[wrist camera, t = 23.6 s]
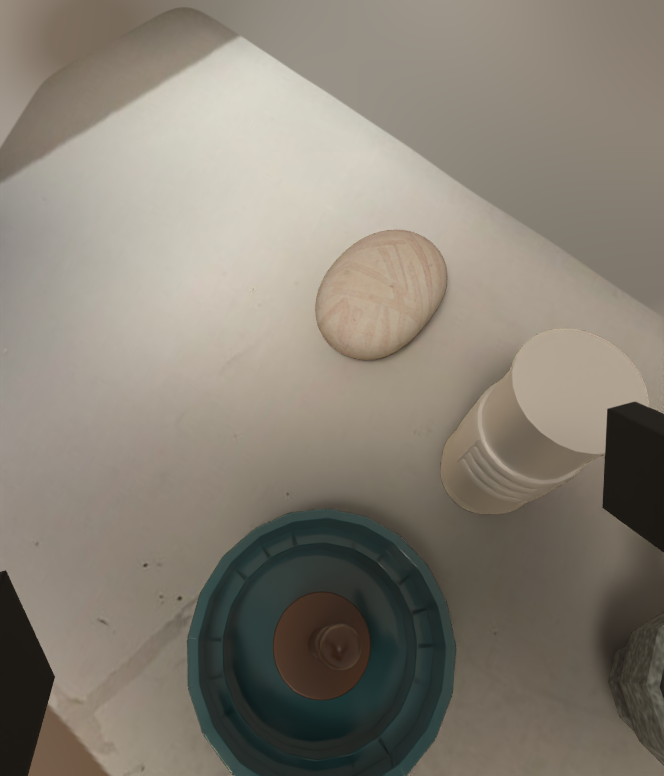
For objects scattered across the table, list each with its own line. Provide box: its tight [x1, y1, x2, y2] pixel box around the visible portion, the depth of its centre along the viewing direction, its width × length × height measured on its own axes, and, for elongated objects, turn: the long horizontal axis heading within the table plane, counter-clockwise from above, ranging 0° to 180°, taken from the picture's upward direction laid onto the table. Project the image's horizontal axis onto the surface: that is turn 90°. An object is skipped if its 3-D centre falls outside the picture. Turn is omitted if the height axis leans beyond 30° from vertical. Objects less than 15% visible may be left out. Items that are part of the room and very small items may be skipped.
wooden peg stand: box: [273, 592, 371, 701], centre depth 26 cm, size 6×6×15 cm
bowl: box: [187, 508, 456, 776], centre depth 31 cm, size 14×14×6 cm
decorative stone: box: [315, 230, 447, 360], centre depth 43 cm, size 13×9×5 cm
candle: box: [440, 328, 649, 515], centre depth 32 cm, size 7×7×15 cm
